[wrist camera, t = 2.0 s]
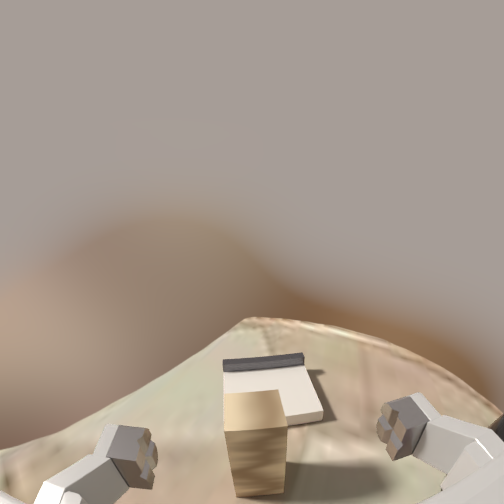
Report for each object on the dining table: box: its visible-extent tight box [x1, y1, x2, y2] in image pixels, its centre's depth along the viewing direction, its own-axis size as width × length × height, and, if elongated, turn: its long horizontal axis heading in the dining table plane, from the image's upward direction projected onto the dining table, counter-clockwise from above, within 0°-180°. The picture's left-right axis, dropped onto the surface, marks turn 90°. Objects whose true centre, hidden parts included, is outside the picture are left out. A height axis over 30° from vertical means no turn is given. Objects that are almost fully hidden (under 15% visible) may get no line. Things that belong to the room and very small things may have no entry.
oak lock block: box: [224, 389, 288, 497], centre depth 24 cm, size 5×5×12 cm
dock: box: [223, 353, 324, 426], centre depth 39 cm, size 13×13×4 cm
